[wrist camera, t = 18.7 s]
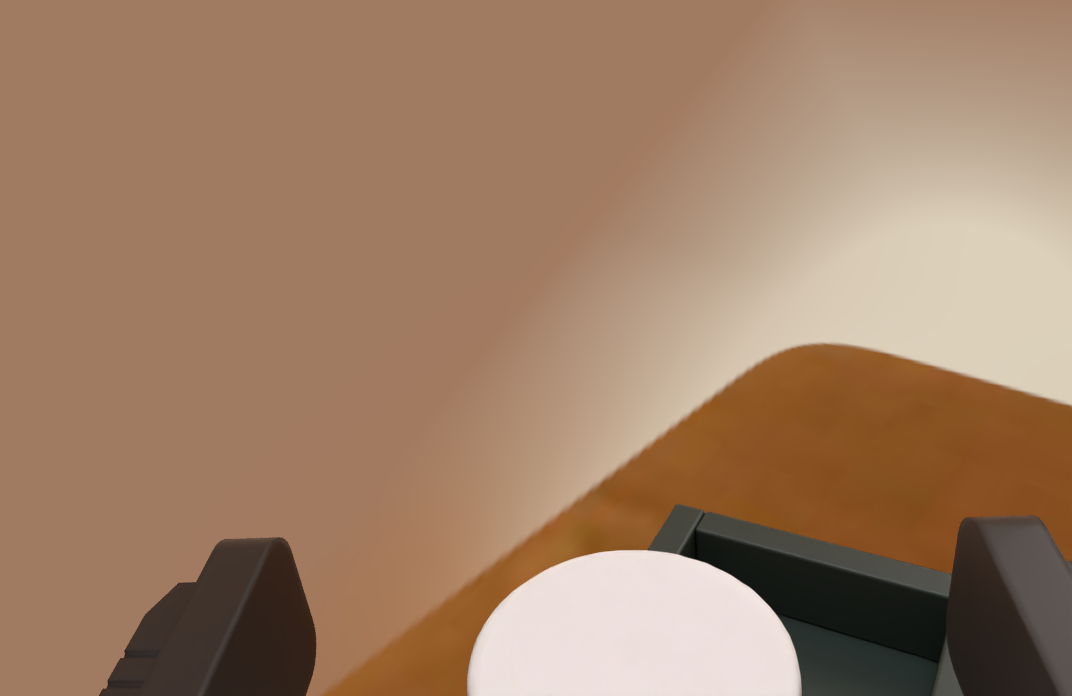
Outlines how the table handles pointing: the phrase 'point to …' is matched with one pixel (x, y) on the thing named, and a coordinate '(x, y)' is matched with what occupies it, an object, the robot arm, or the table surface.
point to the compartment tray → (832, 604)
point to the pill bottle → (633, 633)
